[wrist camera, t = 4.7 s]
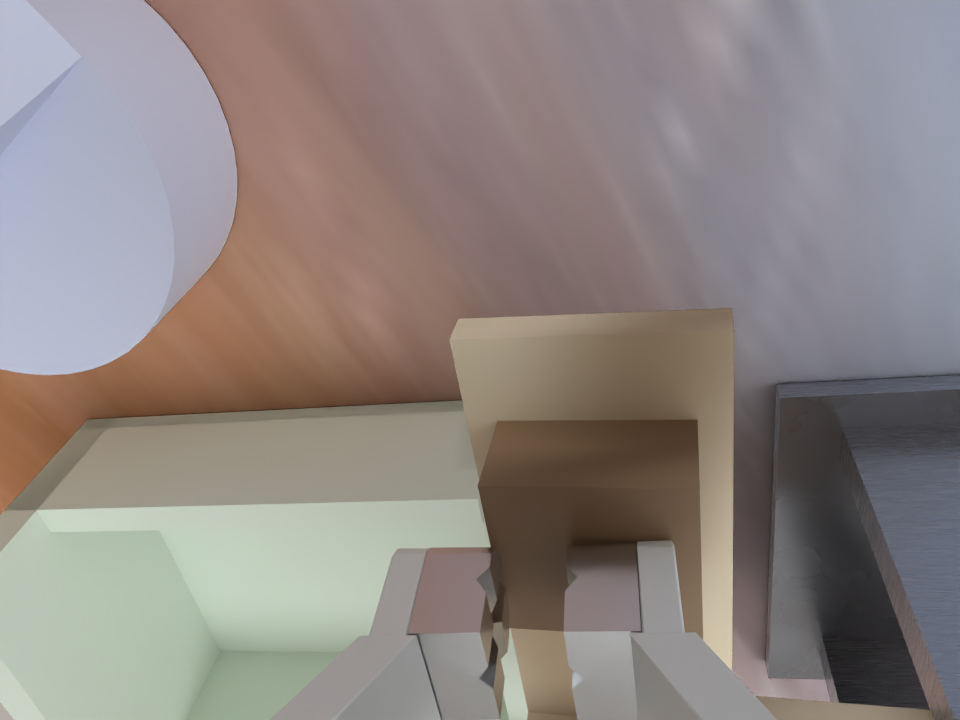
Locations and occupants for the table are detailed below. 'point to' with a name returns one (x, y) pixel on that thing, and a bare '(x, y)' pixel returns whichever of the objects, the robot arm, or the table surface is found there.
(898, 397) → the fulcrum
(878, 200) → the table surface
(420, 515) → the tray
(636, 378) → the lever
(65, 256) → the wedge on round base
